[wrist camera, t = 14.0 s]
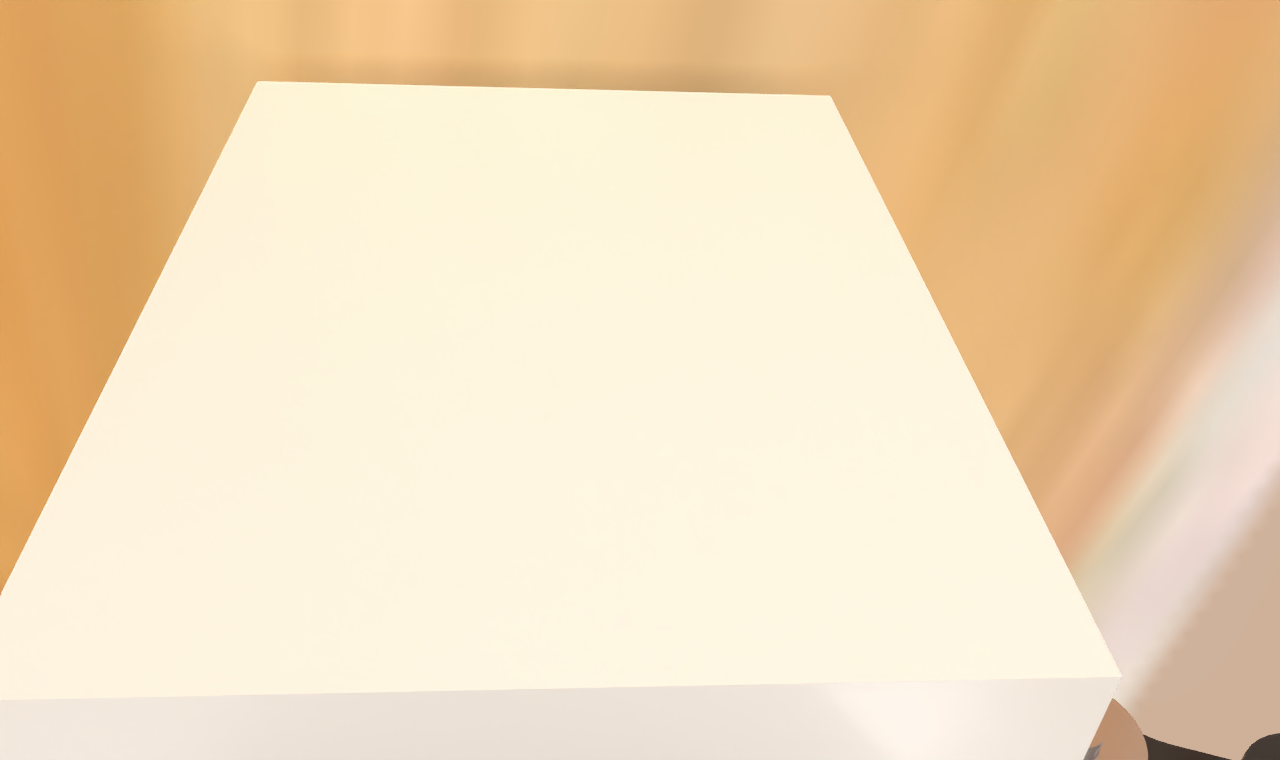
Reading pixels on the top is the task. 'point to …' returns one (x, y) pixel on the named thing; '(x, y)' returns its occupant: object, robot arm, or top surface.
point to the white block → (543, 461)
